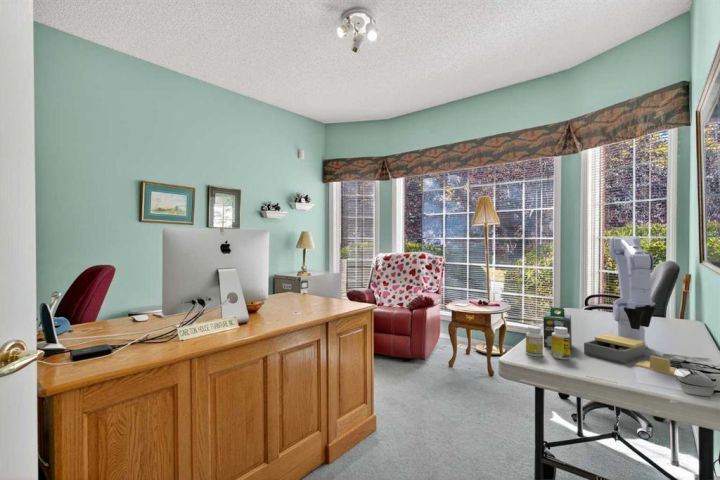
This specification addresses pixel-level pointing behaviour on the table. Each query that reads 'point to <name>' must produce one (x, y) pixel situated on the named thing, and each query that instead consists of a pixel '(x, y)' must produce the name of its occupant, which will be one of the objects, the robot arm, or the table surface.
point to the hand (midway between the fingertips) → (640, 327)
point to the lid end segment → (657, 365)
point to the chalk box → (555, 325)
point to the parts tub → (615, 348)
